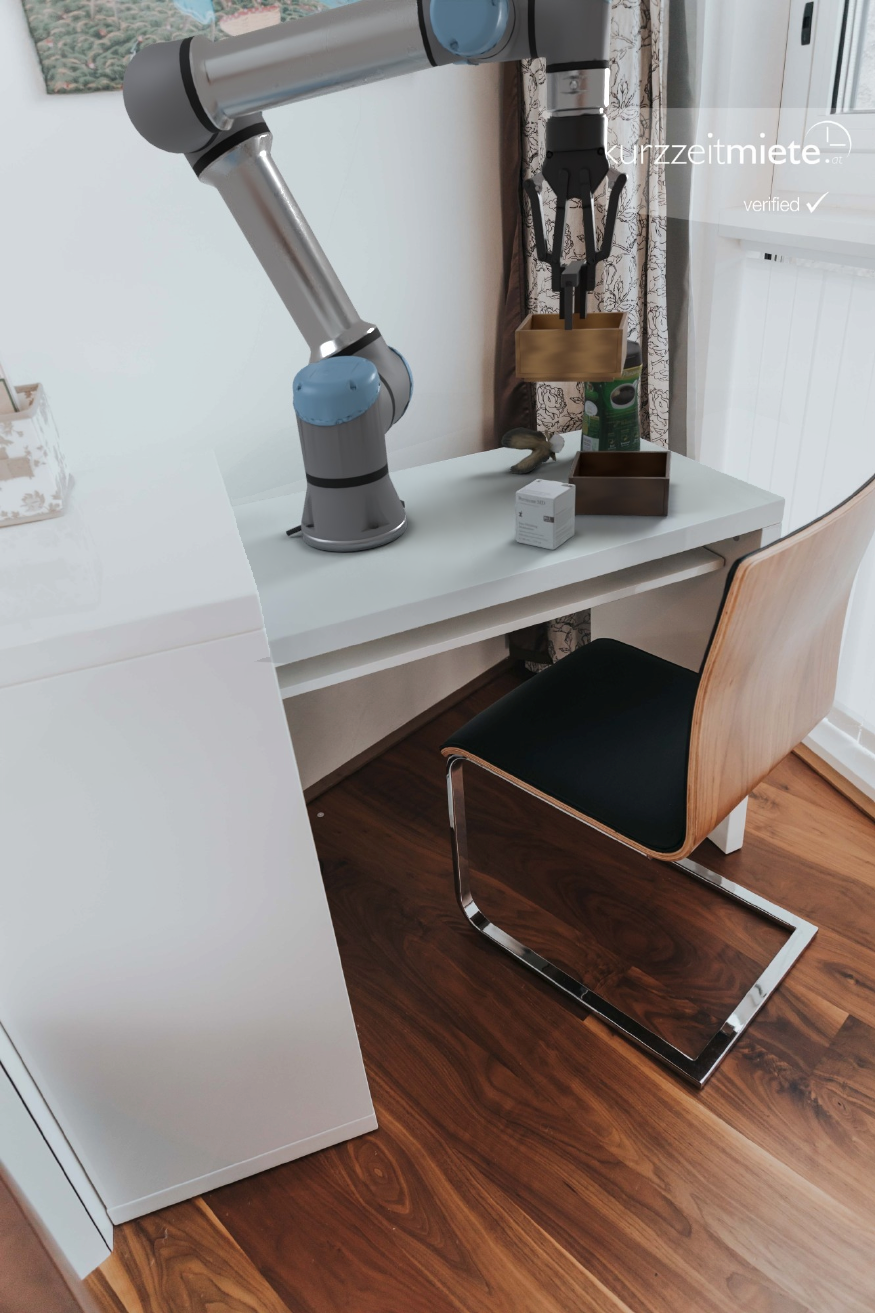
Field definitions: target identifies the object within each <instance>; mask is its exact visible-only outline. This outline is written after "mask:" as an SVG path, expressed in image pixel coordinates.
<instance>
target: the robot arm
mask: <svg viewBox="0 0 875 1313" xmlns="http://www.w3.org/2000/svg"><path fill="white" fill-rule="evenodd" d="M612 6H613V0H359V1H358V0H357V1H356V2H351V3H348V4H344V5H341V6H337V7H334V8H330V9H326V10H322V11H319V12H316V13H312V14H309V15H308V14H307V15H305V16H302V17H298V18H294V19H290V20H287V21H284V22H280V23H277V24H273V25H270V26H265V27H262V28H258V29H255V30H251V31H248V32H243V33H241V34H237V35H234V36H231V37H227V38H224V39H223V38H222V39H219V40H216V41H213V40H211V39H210V37H207V36H206V35H204V34H195V35H192V36H189V37H185V38H181V39H176V40H169V41H161V42H154V43H151V44H148V45H146V46H144V47H142V48H141V49H140V50H138V51H137V52H136V53H135V54H134V55H133V56H132V57H131V59H130V60H129V62H128V64H127V66H126V69H125V72H124V75H123V81H122V100H123V104H124V108H125V111H126V114H127V117H128V118H129V120H130V122H131V124H132V125H133V127H134V128H135V130H136V132H138V134H139V135H140V136H141V137H142V138H143V139H144V140H145V141H146V142H148V143H149V144H150V145H152V146H154V147H155V148H157V149H159V150H161V151H163V152H167V153H170V154H176V155H178V154H183V156H184V157H185V160H186V161H187V162H188V164H189V166H190V168H191V169H192V171H193V172H194V174H195V176H196V177H197V179H198V181H199V182H200V183H201V184H205V185H208V186H210V187H213V188H215V189H216V191H218V194H219V195H220V196H221V198H222V200H223V202H224V203H225V205H226V207H227V209H228V210H229V211H230V214H231V216H232V218H233V219H234V221H235V222H236V224H237V226H238V228H239V229H240V231H241V233H242V235H243V236H244V238H245V240H246V242H247V244H248V245H249V246H250V248H251V250H252V251H253V253H254V255H255V257H256V259H257V260H258V262H259V263H260V265H261V267H262V269H263V270H264V272H265V274H266V276H267V277H268V279H269V281H270V282H271V284H272V286H273V287H274V289H275V291H276V293H277V294H278V296H279V298H280V300H281V301H282V303H283V305H284V307H285V308H286V310H287V312H288V314H289V315H290V317H291V319H292V320H293V322H294V324H295V325H296V327H297V330H299V332H300V334H301V336H302V337H303V339H304V341H305V342H306V345H307V347H308V348H309V352H310V354H309V358H308V363H307V365H306V366H304V367H302V368H301V369H300V370H299V371H298V372H297V373H296V374H295V376H294V378H293V380H292V407H293V410H294V412H295V419H296V425H297V431H298V437H299V442H300V449H301V454H302V461H303V467H304V472H305V479H306V490H305V497H304V503H303V509H302V515H301V521H300V523H301V524H300V525H298V526H295V527H293V528H290V529H288V530H286V531H285V533H286V536H287V537H289V536H291V535H295V534H296V533H299V532H301V535H302V540H303V541H304V543H306V544H307V545H308V546H310V547H311V548H315V549H318V550H322V551H329V552H355V551H363V550H368V549H369V550H370V549H373V548H377V547H380V546H383V545H386V544H389V543H391V542H392V541H395V540H396V539H398V538H400V537H401V536H402V535H403V534H404V533H405V532H406V530H407V529H408V521H407V513H406V511H405V510H406V509H405V508H406V505H405V501H404V500H402V499H401V498H400V496H399V494H398V492H397V489H396V488H395V486H394V483H393V481H392V479H391V476H390V471H389V463H388V462H389V461H388V453H387V444H386V443H387V442H386V434H387V433H388V431H390V429H391V428H392V427H393V426H394V425H395V424H397V422H399V421H400V420H401V419H402V417H403V416H404V415H405V413H406V411H407V410H408V408H409V405H410V403H411V401H412V398H413V394H414V393H413V392H414V376H413V373H412V372H413V371H412V370H411V367H410V364H409V363H408V361H407V359H406V358H405V356H404V355H403V354H401V352H400V351H399V350H397V349H396V348H394V347H392V346H390V345H388V344H387V342H386V340H385V338H384V337H383V334H382V333H381V331H380V330H379V328H378V326H377V325H376V324H375V323H371V322H367V321H365V320H363V319H361V316H360V315H359V313H358V311H357V309H356V308H355V306H354V304H353V302H352V300H351V298H350V297H349V294H348V293H347V291H346V290H345V288H344V286H343V284H342V282H341V280H340V279H339V277H338V275H337V272H336V271H335V269H334V268H333V266H332V264H331V262H330V261H329V258H328V257H327V255H326V253H325V251H324V250H323V248H322V246H321V244H320V243H319V240H318V239H317V237H316V235H315V233H314V231H313V229H312V228H311V226H310V224H309V222H308V221H307V219H306V217H305V215H304V213H303V211H302V210H301V207H300V206H299V204H298V202H297V200H296V198H295V197H294V195H293V193H292V191H291V189H290V187H289V185H288V184H287V182H286V181H285V179H284V176H283V175H282V173H281V171H280V169H279V168H278V166H277V164H276V163H275V160H274V158H273V157H272V154H271V152H272V151H271V150H272V145H273V139H274V136H273V133H272V132H271V129H270V127H269V126H268V124H267V122H266V120H265V118H264V116H263V112H264V111H268V110H272V109H276V108H280V107H284V106H288V105H291V104H295V103H299V102H303V101H306V100H312V99H314V98H319V97H323V96H327V95H330V94H335V93H339V92H342V91H347V90H349V89H354V88H358V87H362V86H366V85H370V84H375V83H377V82H378V83H379V82H381V81H386V80H389V79H393V78H396V77H401V76H404V75H405V76H406V75H409V74H412V73H417V72H420V71H424V70H428V69H432V68H435V67H442V66H446V65H447V66H448V65H450V64H453V65H456V66H461V65H462V66H463V65H465V66H466V65H468V66H475V67H476V66H477V67H478V66H480V65H482V64H492V63H501V62H502V63H503V62H511V61H520V60H528V59H529V60H530V59H532V60H535V59H536V60H537V59H539V58H542V59H543V58H545V111H546V112H547V113H550V115H549V118H547V119H546V121H545V153H544V154H545V155H544V157H545V158H544V160H543V163H542V165H541V170H540V171H539V172H538V173H536V174H535V175H533V176H531V177H528V178H526V179H525V180H524V181H523V182H522V186H523V190H524V191H525V193H526V195H527V197H528V200H529V205H530V211H531V212H530V213H531V220H532V227H533V235H534V242H535V243H534V244H535V251H536V259H537V260H538V261H539V262H542V263H546V264H548V265H549V266H550V269H551V272H550V279H551V280H550V282H551V283H550V289H551V291H552V293H558V297H559V298H558V301H559V302H558V313H559V319H565V287H561V274H562V273H563V271H564V270H565V269H566V268H567V266H568V265H569V263H563V260H564V259H563V255H564V246H565V236H566V229H567V228H566V227H567V219H568V218H567V217H568V210H569V209H568V208H569V203H570V202H569V201H570V200H572V199H577V200H580V201H581V202H580V203H581V209H582V222H583V235H584V236H583V237H584V250H585V260H586V263H585V264H582V265H581V281H580V319H585V318H586V316H587V313H588V298H589V296H588V295H589V293H588V292H594V291H595V290H596V286H597V272H598V271H597V268H598V267H597V266H598V264H599V263H600V262H602V261H605V260H607V259H609V258H610V256H611V254H612V250H613V245H614V238H615V231H616V226H617V220H618V219H617V218H618V214H619V208H620V202H621V201H620V200H621V195H622V193H623V190H624V188H625V187H626V184H627V182H628V180H629V175H628V173H626V172H621V171H619V170H617V169H615V168H614V167H612V166H611V162H610V161H611V160H610V159H609V157H608V150H607V148H608V120H609V118H608V117H607V114H605V113H604V109H606V108H607V107H608V106H609V91H610V89H609V88H610V62H609V61H610V52H611V30H612V29H611V28H612V26H611V25H612ZM606 177H607V179H608V182H607V187H608V188H609V189H610V194H609V198H608V203H607V209H606V210H607V211H606V216H605V222H604V229H603V236H602V240H601V242H602V243H601V248H600V249H599V250H597V233H596V219H595V218H596V217H595V200H594V198H595V197H594V194H595V193H596V192H597V190H598V189H599V187H600V186H601V184H602V183H603V181H604V179H605V178H606ZM544 181H545V182H546V183H547V185H548V186H549V187H550V189H551V191H552V192H553V194H554V195H555V197H556V200H555V201H556V202H555V216H554V226H553V237H552V246H551V251H549V245H548V236H547V228H546V219H545V213H544V204H543V203H544V202H543V198H542V197H543V196H542V193H543V191H544Z"/></svg>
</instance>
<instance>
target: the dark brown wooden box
mask: <svg viewBox="0 0 875 1313" xmlns="http://www.w3.org/2000/svg"><path fill="white" fill-rule="evenodd" d="M671 458H672V451H671V450H640V451H580V450H577V451H576V452H575V455H574V459H573V462H572V465H571V468H570V471H569V474H568V477H567V484H572V485H575V515H594V516H595V515H599V516H648V517H649V516H654V517H655V516H656V517H658V516H659V517H667V516H668V515H669V514H668V513H669V495H670V480H671V462H672V461H671V460H672V459H671Z"/></svg>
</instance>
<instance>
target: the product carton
mask: <svg viewBox="0 0 875 1313" xmlns="http://www.w3.org/2000/svg"><path fill="white" fill-rule="evenodd" d="M575 515H576V514H575V485H572V484H568V483H566V482H561V481H556V480H547V479H541V478H536V479H534V480H532V481H531V482H529V483H528V484H526V485H525V486H523V487H522V488H519V489H518V490H516V491H515V541H516V543H519V544H524V545H529V546H534V547H539V548H543V549H547V550H556V549H557V548H558V547H560V546H561V545H562V544H564V543H565V542H566V541H567V540H569V539H570V538H572V537H573V536H574V535H575V519H576V516H575Z"/></svg>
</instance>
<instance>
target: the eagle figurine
mask: <svg viewBox="0 0 875 1313" xmlns="http://www.w3.org/2000/svg"><path fill="white" fill-rule="evenodd" d="M565 441H566V440H565V438H564V437H563V436H562V435H561V434H557V433H555V434H553V433H551V432H548V429H545V430H544V433H543V432H542V431H541V430H533V429H528V428H525V427H524V426H523V427H520V426H519V427H516V428H513V429H510V430H508V431H507V432H506V433H505V434H504V435H503V436H502V439H501V441H500V442H501V445H503V446H504V448H506V449H511V450H512V449H513V450H518V451H524V450H525V451H526V450H529V451H531V453H530V454H529V455H527V456H526V457H524V458H522V459H521V460H520V461H519V462H517V463H515V464H514V465H512V466H510V468H509V472H510V473H511V474H519V475H521V474H527V473H528V472H531V471H533V470H534V469H535V468H537V467H538V466H539V465H542V464H544V463H547V462H548V461H549V460H550V459H552V461H553V462H557V457H556V454H560V453H561V451H562V450H563V449H564V447H565Z"/></svg>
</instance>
